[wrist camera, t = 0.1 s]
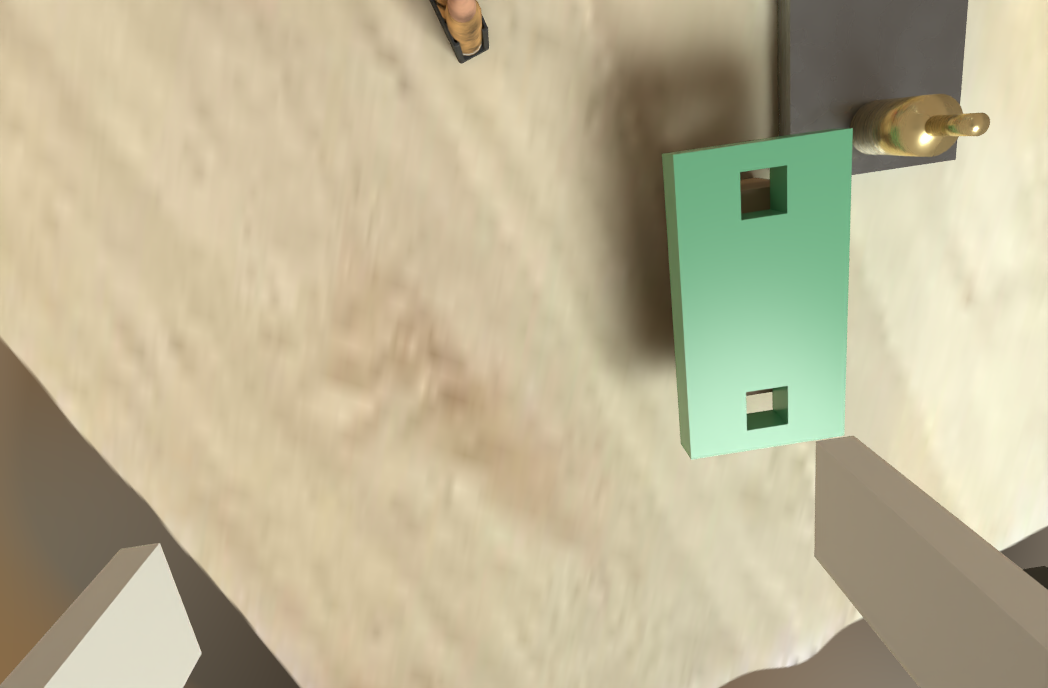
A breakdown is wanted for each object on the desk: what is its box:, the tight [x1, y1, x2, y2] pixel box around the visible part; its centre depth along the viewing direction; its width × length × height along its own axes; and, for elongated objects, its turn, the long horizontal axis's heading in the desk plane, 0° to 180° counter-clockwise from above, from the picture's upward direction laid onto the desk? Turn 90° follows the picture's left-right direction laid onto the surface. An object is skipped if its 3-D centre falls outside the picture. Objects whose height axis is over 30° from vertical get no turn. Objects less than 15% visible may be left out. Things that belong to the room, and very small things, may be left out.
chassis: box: [778, 0, 990, 175], centre depth 31 cm, size 17×10×10 cm, turn 8°
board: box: [662, 128, 853, 460], centre depth 34 cm, size 17×9×2 cm, turn 8°
